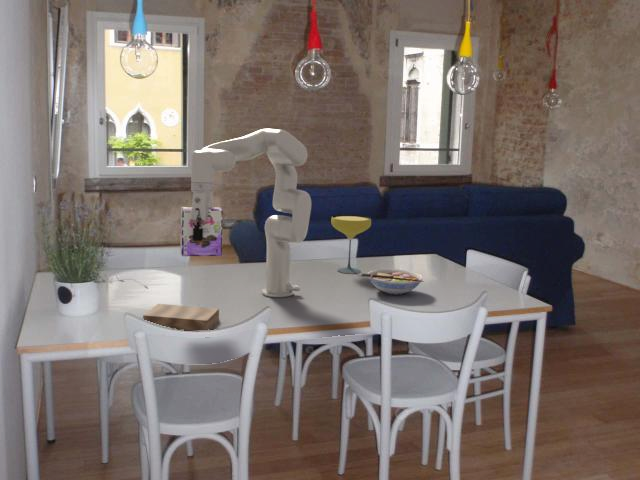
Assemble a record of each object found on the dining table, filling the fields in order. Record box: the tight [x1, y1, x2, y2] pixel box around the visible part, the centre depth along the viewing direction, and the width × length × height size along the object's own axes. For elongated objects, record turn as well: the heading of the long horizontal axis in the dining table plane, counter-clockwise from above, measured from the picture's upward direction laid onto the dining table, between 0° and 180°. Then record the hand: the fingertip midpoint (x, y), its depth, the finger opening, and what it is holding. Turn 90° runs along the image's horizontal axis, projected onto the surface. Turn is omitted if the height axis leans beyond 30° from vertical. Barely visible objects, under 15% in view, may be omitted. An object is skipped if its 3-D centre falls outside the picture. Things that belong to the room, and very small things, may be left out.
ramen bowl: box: [360, 268, 424, 296], centre depth 291 cm, size 25×23×8 cm
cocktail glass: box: [330, 213, 372, 274], centre depth 324 cm, size 18×18×25 cm
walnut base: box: [142, 303, 220, 331], centre depth 242 cm, size 22×14×4 cm, turn 82°
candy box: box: [179, 206, 223, 257], centre depth 243 cm, size 14×6×16 cm, turn 105°
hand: (201, 237), depth 244 cm, fingers closed on candy box, 7 cm apart
